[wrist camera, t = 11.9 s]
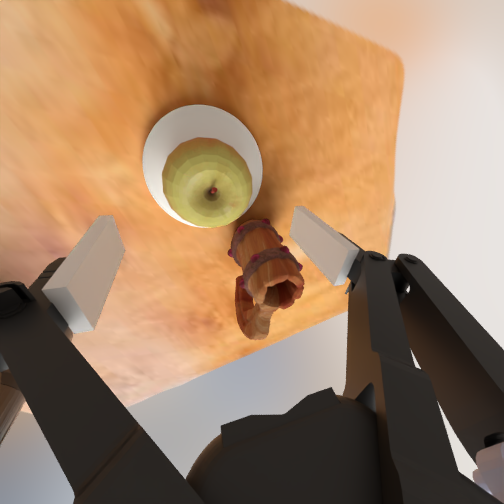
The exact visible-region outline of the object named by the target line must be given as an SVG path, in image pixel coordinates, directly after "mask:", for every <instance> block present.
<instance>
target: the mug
mask: <svg viewBox="0 0 504 504" xmlns="http://www.w3.org/2000/svg"><path fill="white" fill-rule="evenodd" d="M282 241H283V238H282V237H281V236H280V235H278V233H277V231H276V230H275V229H274V228H273V227H272V226H271V225H270V221H269V220H268V219H263V220H255V219H253V220H249V221H246V222H245V223H243V224H241V225H240V227H238V229H237V231H236V232H235V234H234V237H233V239H232V242H231V249H230V250H229V251H228V255H229V256H230V257H233V258H234V260H235V262H236V263H237V264H238V265H239V266H240V267H242V270H243V275H242V276H238V277H237V278H236V291H235V306H236V315H237V321H238V324H239V326H240V329H241V330H242V332H243V334H244V335H245V336H246V337H247V338H249V339H252V340H261V339H265V338H266V337H267V335H268V333H269V326H270V319H271V316H272V314H273V312H274V311H276V310H277V309H278V308H282V309H286V308H288V307H290V306H292V305H293V303H294V300H295V299H299V298H300V297H301V295H302V291H303V289H304V287H303V285H304V279H303V277H302V275H301V274H300V271H301V270H302V267H303V266H302V265H301V264H300V263H298V262H297V260H296V259H295V257H294V256H293V255H292V254H291V253H290V252H289V249H288V248H287V246H283V245H282V244H281V242H282ZM253 298H254V300H255V302H256V304H255V306H254V304H253Z"/></svg>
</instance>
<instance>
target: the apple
mask: <svg viewBox="0 0 504 504" xmlns="http://www.w3.org/2000/svg"><path fill="white" fill-rule="evenodd" d="M162 184H163V193H164V195H165V197H166V199H167V201H168V203H169V205H170V207H171V209H172V210H173V211H175V212H176V213H177V214H178V215H179V216H180V217H181V218H182V219H183V220H185V221H187V222H190V223H192V224H194V225H196V226H200V227H208V228H215V227H220V226H225V225H227V224H229V223H231V222H233V221H234V220H236V219H238V218H239V216H240V215H241V214H242V213H243V212H244V210H245V209H246V208H247V207H248V204H249V201H250V199H251V196H252V193H253V192H252V176H251V173H250V171H249V168H248V166H247V163H246V161H245V160H244V159H243V158H242V157H241V156H240V154H239V153H238V152H237V151H236V150H235V149H234V148H233V147H232V146H230V145H228V144H226V143H224V142H222V141H220V140H218V139H216V138H202V137H197V138H194V139H191V140H188V141H186V142H183V143H180V144H179V145H178V146H177V147H176V148H175V149H174V150H173V151H172V152H171V153H170V154H169V155H168V157H167V160H166V163H165V165H164V168H163V171H162Z"/></svg>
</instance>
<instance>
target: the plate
mask: <svg viewBox="0 0 504 504" xmlns="http://www.w3.org/2000/svg"><path fill="white" fill-rule="evenodd" d="M197 137H202V138H216V139H218V140H220V141H222V142H224V143H226V144H228V145H230V146H232V147H233V148H234V149H235V150H236V151H237V152H238V153H239V154H240V156H241V157H242V158H243V159H244V160H245V161H246V163H247V166H248V168H249V171H250V173H251V176H252V192H253V193H252V196H251V199H250V201H249V204H248V207H247V208H246V209H245V210H244V212H243V213H242V214H241V215H240V216H239V217H241V216H242V215H243V214H244V213H245V212H246V211H247V210H248V209H249V208H250V207H251V205H252V204H253V203H254V201H255V199H256V197H257V195H258V193H259V190H260V186H261V182H262V172H263V168H262V159H261V154H260V151H259V148H258V146H257V143H256V141H255V139H254V138H253V136H252V134H251V133H250V131H249V130H248V129H247V128H246V127H245V125H244V124H243V123H242V122H240V121H239V120H238V119H237V118H236V117H234V116H233V115H231V114H230V113H228V112H226V111H224V110H222V109H219V108H216V107H213V106H208V105H188V106H184V107H180V108H177V109H175V110H173V111H171V112H169V113H168V114H166V115H165V116H164V117H162V118H161V119H160V120H159V121H158V122H157V123H156V124H155V126H154V127H153V129H152V130H151V132H150V133H149V136H148V138H147V140H146V143H145V147H144V151H143V172H144V177H145V181H146V184H147V186H148V189H149V191H150V193H151V194H152V196H153V198H154V199H155V201H156V202H157V203H158V204H159V206H160V207H161V208H162V209H163V210H164V211H165V212H167V213H168V214H169V215H170V216H172V217H173V218H175V219H177V220H178V221H180V222H183V223H185V224H188V225H191V226H195V227H200V226H196V225H194V224H192V223H190V222H187V221H185V220H183V219H182V218H181V217H180V216H179V215H178V214H177V213H176V212H175V211H173V210H172V209H171V207H170V205H169V203H168V201H167V199H166V197H165V195H164V193H163V184H162V171H163V168H164V165H165V163H166V160H167V157H168V155H169V154H170V153H171V152H172V151H173V150H174V149H175V148H176V147H177V146H178V145H179V144H180V143H183V142H186V141H188V140H191V139H194V138H197ZM234 221H235V220H234ZM202 228H208V227H202Z"/></svg>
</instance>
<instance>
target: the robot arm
mask: <svg viewBox="0 0 504 504" xmlns="http://www.w3.org/2000/svg"><path fill="white" fill-rule="evenodd" d="M289 236H290V237H291V238H292V239H293V240H294V241H295V242H296V244H297V245H298V246H299V247H300V248H301V249H302V250H303V251H304V253H305V254H306V255H307V256H308V257H309V258H310V259H311V261H312V262H313V263H314V264H315V265H316V266H317V267H318V268H319V270H320V271H321V272H322V273H323V274H324V275H325V276H326V278H327V279H328V280H329V281H330V282H331V283H332V284H333V285H334V286H337V285H342V284H344V283H345V281H346V278H347V277H348V278H349V279H350V280H351V282H350V284H349V286H348V288H347V290H346V292H345V294H347V293H348V292H349V301H348V333H347V334H348V336H347V365H346V366H347V367H346V385H345V390H344V393H343V396H340V395H336V394H335V393H334V391H333V389H332V387H331V388H328V389H324V390H322V391H319V392H316V393H313V394H310V395H308V396H306V397H305V398H304V399H303V400H301V401H300V402H299V403H298V404H296V405H295V406H294V407H293V408H292V409H290V410H289V411H288V412H287V413H285V414H282V415H250V416H247V417H245V418H241V419H239V420H236V421H233V422H230V423H227V424H224V425H221V434H220V435H219V436H217V437H216V438H215V439H214V440H213V441H211V442H210V444H208V446H207V447H206V448H205V449H204V450H203V451H202V453H201V454H200V455H199V457H198V458H197V460H196V461H195V463H194V464H193V466H192V468H191V470H190V472H189V473H188V475H187V477H186V480H185V479H184V477H183V476H182V475H181V474H180V473H179V471H178V470H177V469H176V468H175V467H174V465H173V464H172V463H171V462H170V461H169V459H168V458H167V457H166V456H165V454H164V453H163V452H162V451H161V450H160V448H159V447H158V446H157V445H156V444H155V442H154V441H153V440H152V439H151V438H150V436H149V435H148V434H147V433H146V432H145V430H144V429H143V428H142V427H141V426H140V425H139V424H138V422H137V421H136V420H135V419H134V418H133V416H132V415H131V414H130V413H129V412H128V410H127V409H126V408H125V407H124V405H123V404H122V403H121V402H120V401H119V399H118V398H117V397H116V396H115V395H114V393H113V392H112V391H111V390H110V388H109V387H108V386H107V385H106V384H105V382H104V381H103V380H102V379H101V378H100V376H99V375H98V374H97V373H96V372H95V370H94V369H93V368H92V367H91V365H90V364H89V363H88V362H87V361H86V359H85V358H84V357H83V356H82V355H81V353H80V352H79V351H78V350H77V349H76V347H75V346H74V345H73V344H72V342H71V340H72V336H73V335H72V332H73V333H74V334H76V333H81V332H86V331H92V330H94V329H95V327H96V324H97V321H98V319H99V316H100V314H101V311H102V309H103V306H104V304H105V301H106V298H107V296H108V293H109V291H110V288H111V286H112V283H113V281H114V278H115V276H116V273H117V270H118V268H119V265H120V263H121V260H122V258H123V255H124V253H125V248H124V246H123V243H122V240H121V237H120V234H119V232H118V229H117V226H116V223H115V220H114V217H113V215H107V216H98V218H97V219H96V220H95V221H94V223H93V224H92V225H91V227H90V228H89V229H88V231H87V232H86V233H85V234H84V236H83V237H82V238H81V240H80V241H79V242H78V243H77V245H76V246H75V247H74V249H73V250H72V251H71V252H70V254H69V255H68V256H67V257H64V258H58V259H57V260H55V261H54V262H52V263H51V264H49V265H48V266H47V267H46V269H45V270H44V271H43V273H41V274H40V276H39V277H38V279H36V280H35V281H34V283H33V284H32V285H31V286H30V287H29V288H28V289H27V288H26V286H25V285H24V284H23V283H21V282H16V281H11V282H5V283H0V447H1V445H2V443H3V441H4V439H5V437H6V436H7V434H8V432H9V430H10V428H11V426H12V424H13V423H14V421H15V419H16V417H17V415H18V414H19V412H20V410H21V408H22V406H23V404H24V403H25V401H26V402H27V404H28V406H29V407H30V409H31V411H32V413H33V415H34V417H35V419H36V420H37V422H38V424H39V426H40V428H41V430H42V432H43V434H44V436H45V438H46V440H47V441H48V443H49V445H50V447H51V449H52V451H53V452H54V454H55V456H56V458H57V460H58V462H59V464H60V466H61V468H62V470H63V472H64V474H65V475H66V477H67V479H68V481H69V483H70V485H71V487H72V489H73V491H74V495H75V499H74V502H73V504H504V350H503V349H502V348H501V347H500V345H499V344H498V343H497V342H496V341H495V340H494V339H493V338H492V337H491V336H490V335H489V333H488V332H487V331H486V330H485V329H484V328H483V327H482V326H481V325H480V324H479V323H478V322H477V320H476V319H475V318H474V317H473V316H472V315H471V314H470V313H469V312H468V311H467V310H466V308H465V307H464V306H463V305H462V304H461V303H460V302H459V301H458V300H457V299H456V298H455V296H454V295H453V294H452V293H451V292H450V291H449V290H448V289H447V288H446V287H445V286H444V285H443V283H442V282H441V281H440V280H439V279H438V278H437V277H436V276H435V275H434V274H433V273H432V271H431V270H430V269H429V268H428V267H427V266H426V265H425V264H424V263H423V262H422V261H421V260H420V259H418V258H417V257H415V256H412V255H410V254H409V255H408V254H399V256H398V257H397V259H396V260H388V259H387V258H386V257H385V256H384V255H382V254H380V253H377V252H374V251H364V250H363V249H362V248H360V247H359V246H358V245H356V244H355V243H354V242H352V241H351V240H350V239H348V238H347V237H346V236H344V235H343V234H341V233H339V232H337V231H335V230H334V229H333V228H332V227H330V226H329V225H328V224H326V223H325V222H324V221H322V220H321V219H320V218H318V217H317V216H316V215H315V214H313V213H312V212H311V211H309V210H308V209H307V208H305V207H304V206H295V209H294V214H293V219H292V224H291V229H290V234H289ZM409 285H410V291H409V293H408V292H407V291H406V289H407V288H408V286H409ZM410 348H411V349H410ZM411 350H412V352H413V354H414V356H415V358H416V360H417V362H418V364H419V366H420V367H421V369H419V368H416V367H415V364H414V361H413V357H412V354H411ZM437 401H438V402H439V405H440V406H441V408H442V410H443V412H444V414H445V416H446V418H447V420H448V421H449V423H450V425H451V427H452V429H453V430H454V432H455V434H456V435H457V437H458V438H459V440H460V442H461V443H462V445H463V446H464V448H465V449H466V451H467V452H468V454H469V455H470V457H471V458H472V459H473V461H474V462H475V463H476V465H477V467H478V469H476V470H475V471H473V479H474V481H475V483H474V482H473V481H471V480H470V479H469V478H467V477H466V476H464V475H463V474H461V473H460V472H459V471H458V468H457V465H456V461H455V458H454V455H453V452H452V448H451V445H450V442H449V438H448V435H447V431H446V428H445V425H444V422H443V418H442V415H441V412H440V408H439V405H438V402H437Z"/></svg>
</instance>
